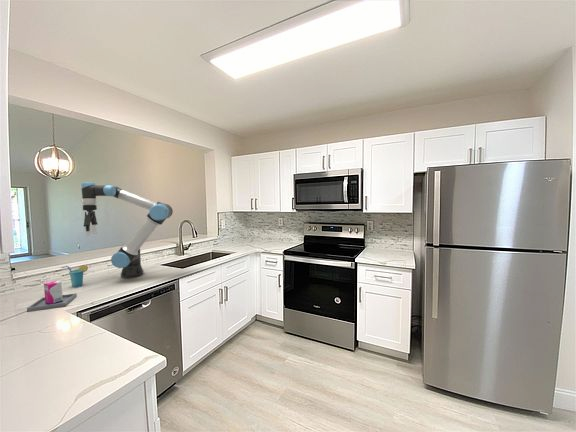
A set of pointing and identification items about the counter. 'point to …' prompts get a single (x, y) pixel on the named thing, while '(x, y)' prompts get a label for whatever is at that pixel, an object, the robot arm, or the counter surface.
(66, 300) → the tray
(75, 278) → the cup
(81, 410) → the counter surface
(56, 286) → the supplement box
